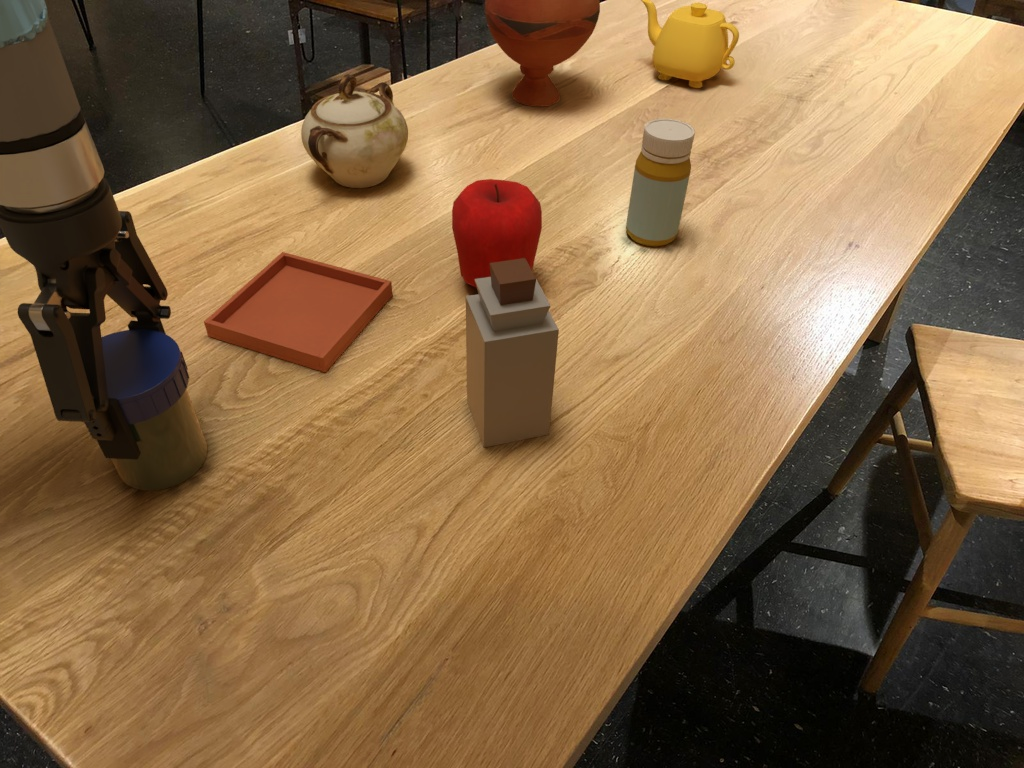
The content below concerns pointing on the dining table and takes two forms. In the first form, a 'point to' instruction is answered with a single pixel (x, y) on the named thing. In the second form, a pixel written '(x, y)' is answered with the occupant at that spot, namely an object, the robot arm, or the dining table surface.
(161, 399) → the lid
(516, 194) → the apple
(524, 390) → the perfume bottle
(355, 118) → the sugar bowl
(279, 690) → the dining table surface
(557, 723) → the dining table surface
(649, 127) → the bottle
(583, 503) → the dining table surface
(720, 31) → the teapot
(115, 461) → the jar
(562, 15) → the goblet
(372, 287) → the tray
